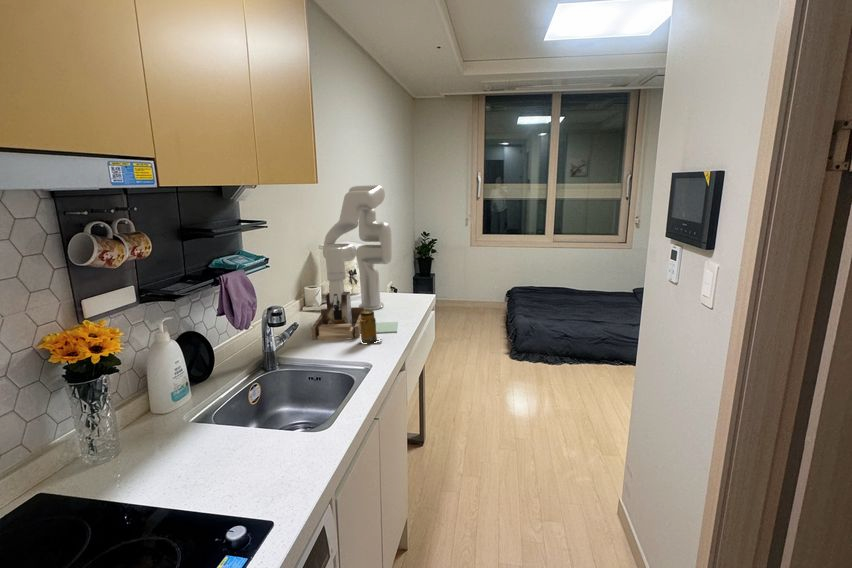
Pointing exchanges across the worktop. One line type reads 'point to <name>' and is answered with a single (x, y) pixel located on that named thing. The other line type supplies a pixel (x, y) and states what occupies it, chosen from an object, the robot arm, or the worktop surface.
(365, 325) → the condiment
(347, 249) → the robot arm
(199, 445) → the worktop surface
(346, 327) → the offcut stack
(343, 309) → the coffee box
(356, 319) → the rack
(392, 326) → the mat
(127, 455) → the worktop surface
